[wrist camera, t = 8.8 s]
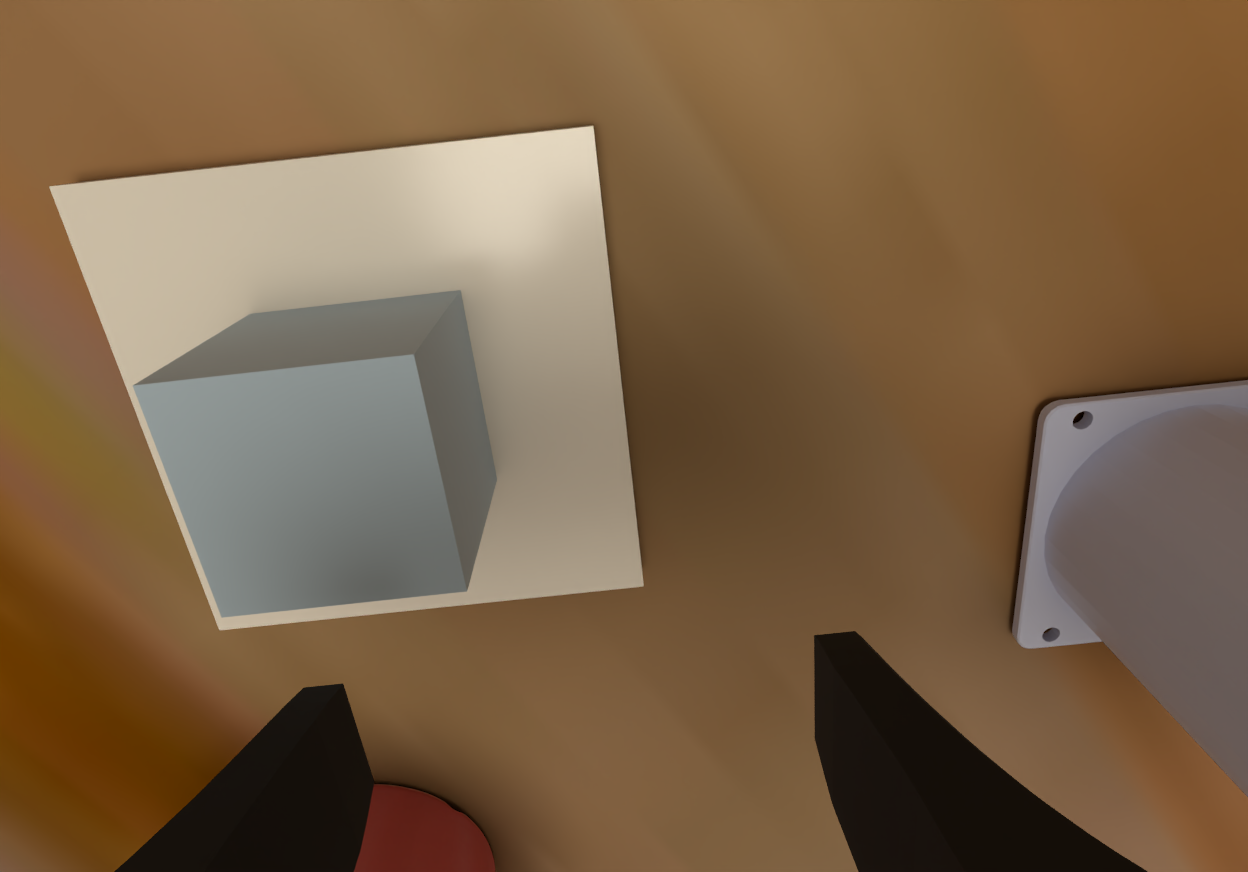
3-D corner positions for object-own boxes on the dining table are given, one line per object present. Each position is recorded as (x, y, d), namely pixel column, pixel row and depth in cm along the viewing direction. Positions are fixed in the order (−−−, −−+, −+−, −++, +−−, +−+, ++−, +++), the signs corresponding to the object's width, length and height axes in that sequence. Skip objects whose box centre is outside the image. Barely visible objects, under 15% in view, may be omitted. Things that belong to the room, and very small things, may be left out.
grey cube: (460, 290, 18) (413, 354, 14) (497, 479, 20) (467, 591, 16) (250, 314, 18) (132, 385, 14) (307, 500, 20) (221, 617, 16)
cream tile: (593, 124, 18) (593, 125, 17) (641, 566, 22) (643, 586, 22) (77, 182, 18) (49, 186, 17) (234, 608, 23) (219, 630, 22)
